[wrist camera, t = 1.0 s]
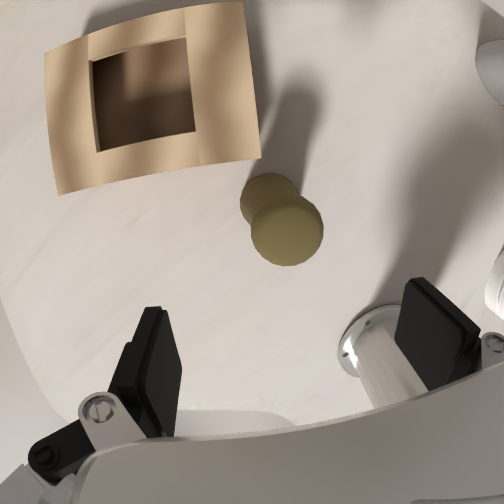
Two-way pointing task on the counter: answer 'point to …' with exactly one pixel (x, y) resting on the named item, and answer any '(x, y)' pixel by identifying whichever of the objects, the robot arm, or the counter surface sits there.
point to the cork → (281, 220)
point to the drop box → (152, 97)
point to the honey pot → (496, 287)
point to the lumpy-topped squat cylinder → (492, 68)
